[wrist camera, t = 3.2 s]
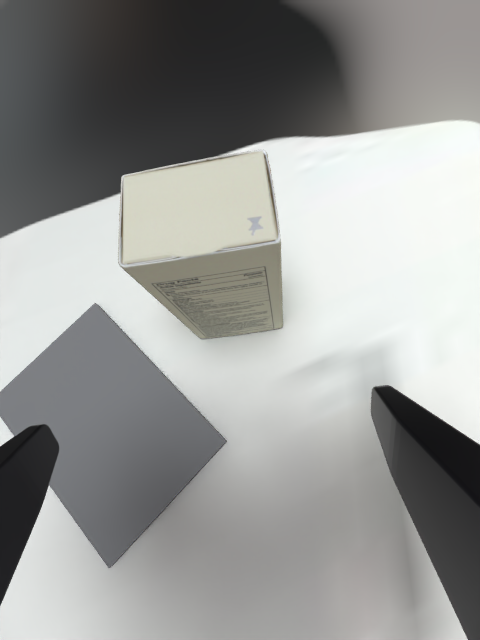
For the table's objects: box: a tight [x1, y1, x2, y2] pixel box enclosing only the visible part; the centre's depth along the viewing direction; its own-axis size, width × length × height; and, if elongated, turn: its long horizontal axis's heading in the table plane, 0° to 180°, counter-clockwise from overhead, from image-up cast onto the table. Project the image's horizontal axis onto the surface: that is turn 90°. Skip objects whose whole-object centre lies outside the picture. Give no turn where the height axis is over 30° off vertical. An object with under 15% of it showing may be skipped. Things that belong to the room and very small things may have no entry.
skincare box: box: [118, 150, 283, 339], centre depth 18 cm, size 6×4×12 cm
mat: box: [0, 303, 226, 568], centre depth 23 cm, size 14×10×1 cm
